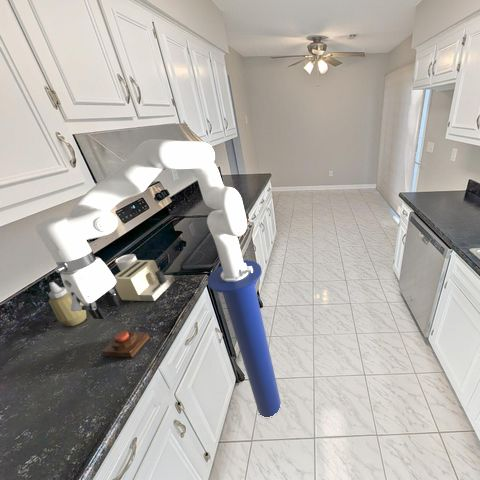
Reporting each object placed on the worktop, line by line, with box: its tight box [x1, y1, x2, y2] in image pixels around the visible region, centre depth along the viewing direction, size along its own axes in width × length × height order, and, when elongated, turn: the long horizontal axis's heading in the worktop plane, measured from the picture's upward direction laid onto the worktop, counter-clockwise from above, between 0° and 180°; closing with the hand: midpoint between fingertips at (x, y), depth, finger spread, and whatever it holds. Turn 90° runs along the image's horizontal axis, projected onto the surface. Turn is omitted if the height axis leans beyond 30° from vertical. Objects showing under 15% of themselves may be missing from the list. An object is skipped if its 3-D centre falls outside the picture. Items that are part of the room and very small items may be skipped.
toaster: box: [113, 259, 176, 302], centre depth 109 cm, size 15×14×11 cm
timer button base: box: [100, 329, 151, 358], centre depth 83 cm, size 10×8×4 cm
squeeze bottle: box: [48, 281, 87, 327], centre depth 92 cm, size 8×8×18 cm
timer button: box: [113, 330, 130, 343], centre depth 82 cm, size 4×4×2 cm
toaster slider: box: [155, 270, 166, 284], centre depth 109 cm, size 3×3×5 cm
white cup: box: [114, 253, 138, 272], centre depth 120 cm, size 8×8×10 cm
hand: (107, 311), depth 77 cm, fingers open, 4 cm apart
